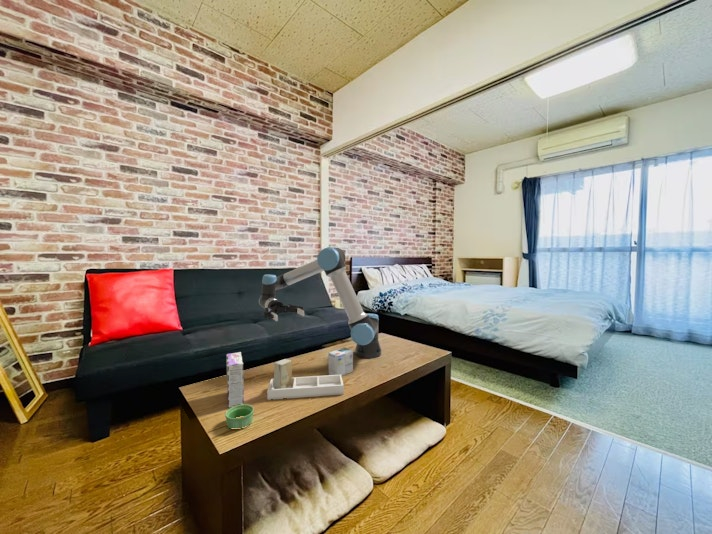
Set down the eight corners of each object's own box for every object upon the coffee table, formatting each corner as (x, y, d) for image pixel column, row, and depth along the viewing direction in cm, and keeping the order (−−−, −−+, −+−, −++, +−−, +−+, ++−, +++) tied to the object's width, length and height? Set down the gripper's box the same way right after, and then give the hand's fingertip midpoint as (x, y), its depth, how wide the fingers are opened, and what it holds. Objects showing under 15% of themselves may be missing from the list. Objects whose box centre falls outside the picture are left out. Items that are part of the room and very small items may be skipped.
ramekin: (231, 416, 103) (230, 404, 103) (256, 415, 104) (256, 403, 103) (221, 432, 94) (220, 419, 94) (249, 431, 95) (249, 418, 95)
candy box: (227, 392, 121) (226, 353, 120) (242, 389, 123) (241, 351, 122) (227, 408, 108) (226, 365, 107) (244, 405, 111) (243, 362, 110)
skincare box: (281, 395, 117) (280, 365, 116) (273, 392, 119) (273, 363, 118) (292, 388, 122) (292, 360, 121) (285, 386, 124) (284, 358, 124)
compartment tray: (341, 382, 129) (341, 374, 129) (343, 394, 119) (343, 385, 119) (271, 387, 125) (271, 378, 125) (267, 399, 114) (267, 390, 114)
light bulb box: (344, 367, 146) (344, 346, 146) (353, 371, 141) (353, 350, 141) (327, 374, 139) (327, 351, 138) (337, 378, 134) (336, 355, 133)
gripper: (295, 309, 163) (313, 319, 146) (250, 317, 148) (265, 328, 132) (295, 296, 162) (313, 304, 145) (250, 302, 147) (264, 312, 131)
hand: (290, 316), depth 138 cm, fingers open, 13 cm apart
